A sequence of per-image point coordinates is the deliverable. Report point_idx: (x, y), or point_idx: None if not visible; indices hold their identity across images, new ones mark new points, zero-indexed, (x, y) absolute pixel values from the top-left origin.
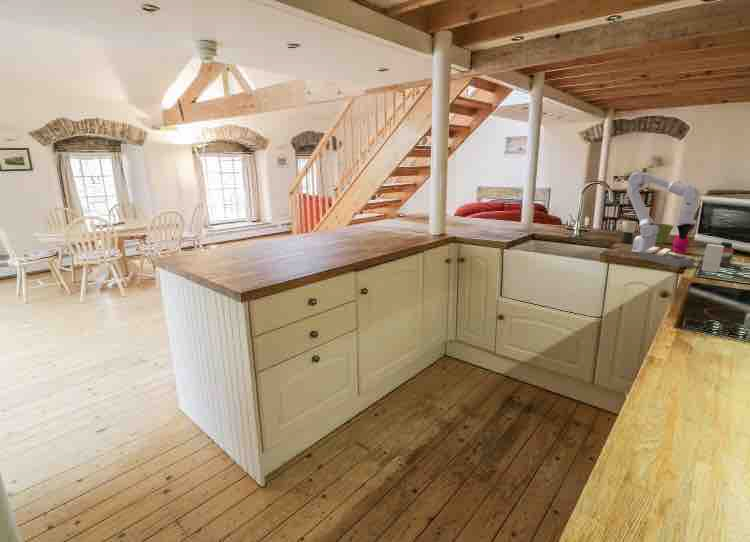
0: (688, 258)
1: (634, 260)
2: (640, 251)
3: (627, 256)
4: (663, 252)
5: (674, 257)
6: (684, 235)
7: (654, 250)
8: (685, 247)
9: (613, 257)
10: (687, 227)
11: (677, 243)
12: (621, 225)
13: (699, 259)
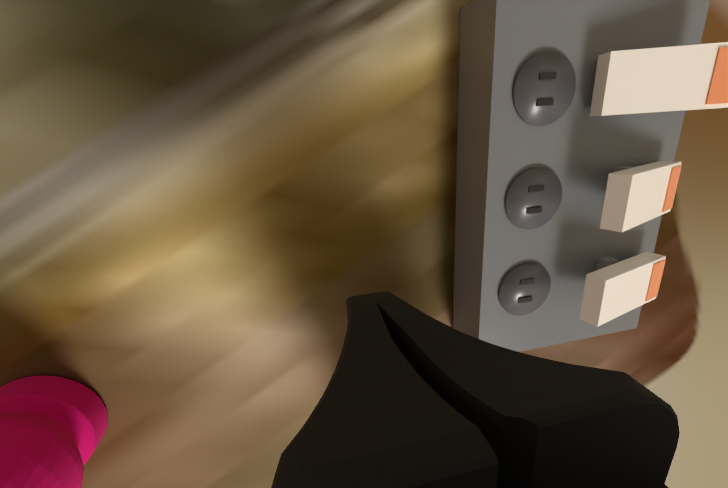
0: (560, 9)
1: (667, 259)
2: (624, 325)
3: (597, 347)
4: (665, 178)
5: None
6: (420, 316)
7: (635, 263)
8: (8, 416)
9: (686, 338)
10: (629, 380)
11: (63, 486)
12: None
13: (131, 161)
